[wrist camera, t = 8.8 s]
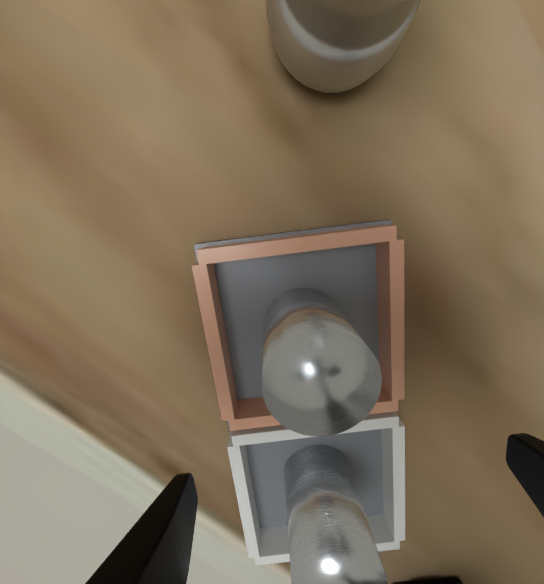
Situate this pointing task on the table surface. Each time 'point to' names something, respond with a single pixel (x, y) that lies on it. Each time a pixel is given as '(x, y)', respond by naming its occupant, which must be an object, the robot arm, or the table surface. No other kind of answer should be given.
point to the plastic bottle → (337, 38)
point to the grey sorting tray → (249, 358)
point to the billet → (327, 521)
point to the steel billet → (316, 366)
